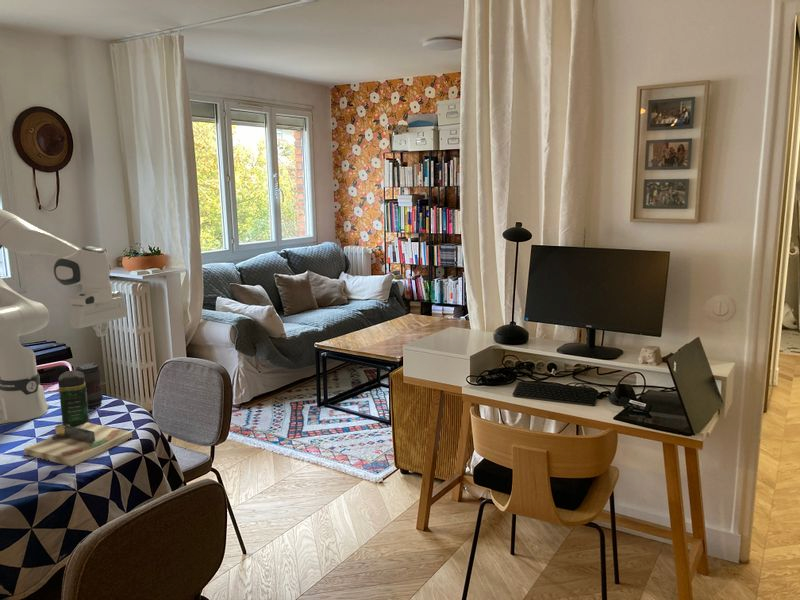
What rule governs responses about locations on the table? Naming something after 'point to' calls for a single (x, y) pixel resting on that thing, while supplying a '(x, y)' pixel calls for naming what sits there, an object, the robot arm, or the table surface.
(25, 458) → the table surface
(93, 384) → the camera lens
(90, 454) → the dial board
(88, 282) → the robot arm
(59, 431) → the tuning needle
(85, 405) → the coffee jar
